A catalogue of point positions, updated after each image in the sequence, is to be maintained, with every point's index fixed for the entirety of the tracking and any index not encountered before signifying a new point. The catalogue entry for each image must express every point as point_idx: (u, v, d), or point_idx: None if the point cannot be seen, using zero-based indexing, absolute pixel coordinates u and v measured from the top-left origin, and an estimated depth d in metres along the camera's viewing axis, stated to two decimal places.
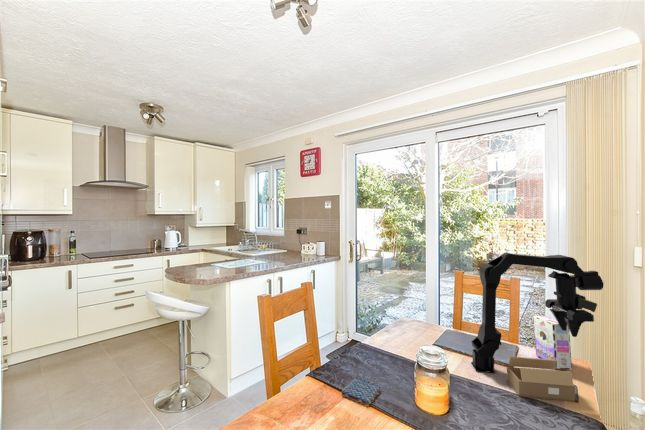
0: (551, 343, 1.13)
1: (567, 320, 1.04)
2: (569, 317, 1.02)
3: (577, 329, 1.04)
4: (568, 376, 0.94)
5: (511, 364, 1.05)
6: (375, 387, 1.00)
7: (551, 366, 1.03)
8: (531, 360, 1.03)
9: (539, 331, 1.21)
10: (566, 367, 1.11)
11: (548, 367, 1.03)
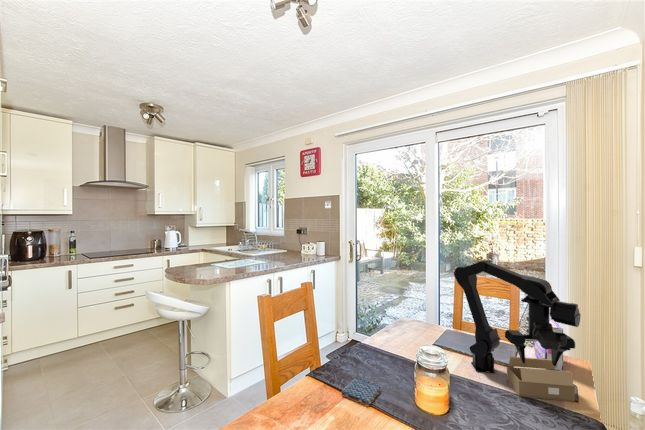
0: None
1: None
2: None
3: (521, 355, 1.00)
4: (568, 376, 0.94)
5: (511, 364, 1.05)
6: (375, 387, 1.00)
7: (551, 366, 1.03)
8: (531, 360, 1.03)
9: None
10: (556, 369, 1.12)
11: (548, 367, 1.03)
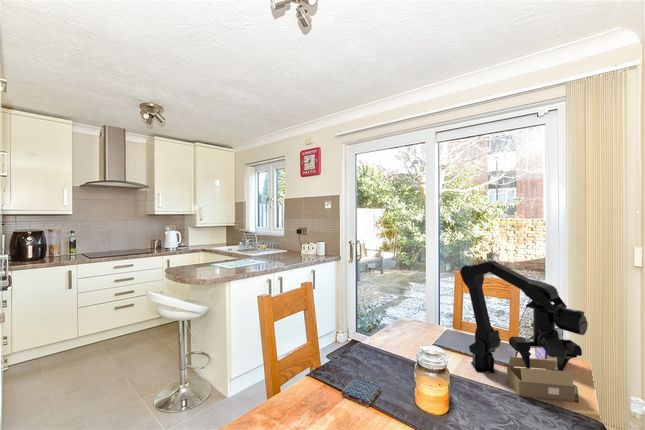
0: None
1: None
2: None
3: (526, 363, 0.97)
4: (568, 376, 0.94)
5: (511, 364, 1.05)
6: (375, 387, 1.00)
7: (551, 366, 1.03)
8: (531, 360, 1.03)
9: None
10: (556, 369, 1.12)
11: (548, 367, 1.03)
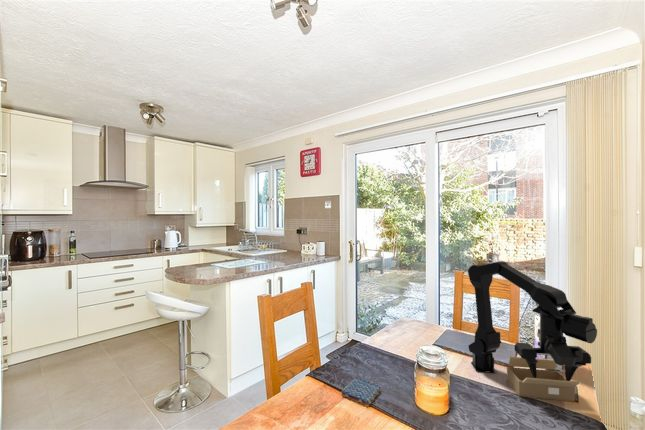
0: None
1: None
2: None
3: (533, 370, 0.93)
4: (573, 384, 0.92)
5: (511, 364, 1.05)
6: (375, 387, 1.00)
7: (551, 366, 1.03)
8: None
9: (537, 331, 1.22)
10: (556, 369, 1.12)
11: (548, 367, 1.03)
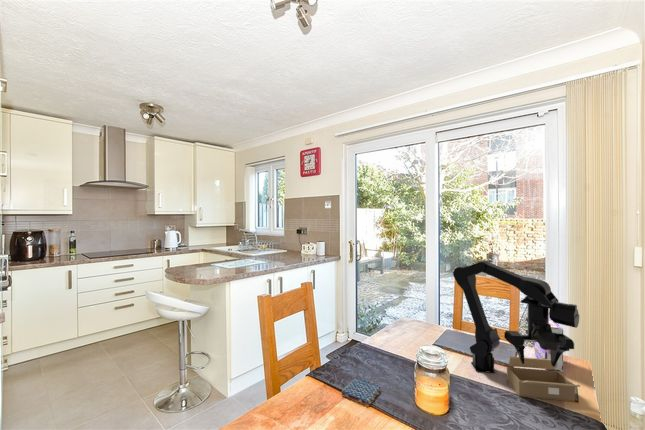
0: None
1: None
2: None
3: (521, 356, 1.00)
4: (574, 386, 0.91)
5: (511, 364, 1.05)
6: (375, 387, 1.00)
7: (551, 366, 1.03)
8: (531, 360, 1.03)
9: None
10: (556, 369, 1.12)
11: (548, 367, 1.03)
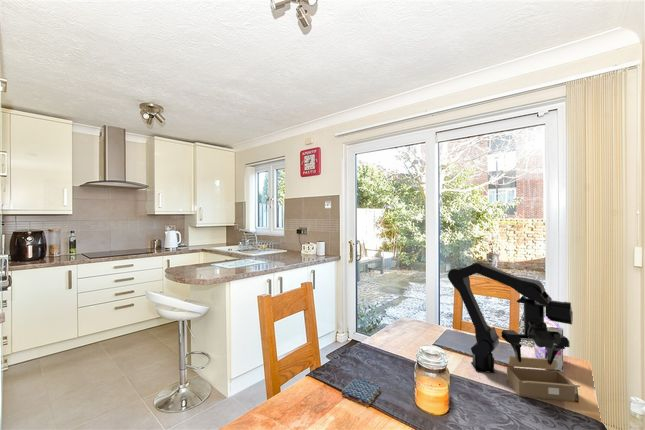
0: None
1: None
2: None
3: (518, 354, 1.03)
4: (574, 386, 0.91)
5: (511, 364, 1.05)
6: (375, 387, 1.00)
7: (551, 366, 1.03)
8: (531, 360, 1.04)
9: None
10: (556, 369, 1.12)
11: (548, 367, 1.03)
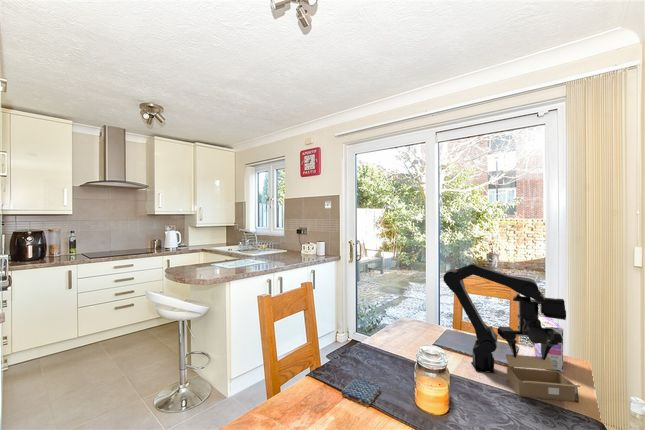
0: None
1: None
2: None
3: (513, 350, 1.06)
4: (574, 386, 0.91)
5: (510, 363, 1.06)
6: (375, 387, 1.00)
7: (549, 365, 1.04)
8: (526, 357, 1.07)
9: None
10: (556, 369, 1.12)
11: (547, 366, 1.04)
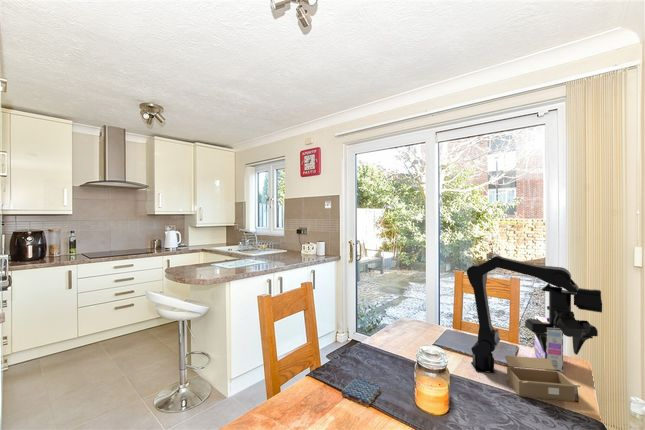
0: None
1: None
2: None
3: (543, 344, 0.99)
4: (574, 386, 0.91)
5: (510, 363, 1.06)
6: (375, 387, 1.00)
7: (549, 365, 1.04)
8: (526, 358, 1.07)
9: None
10: (556, 369, 1.12)
11: (547, 366, 1.04)
